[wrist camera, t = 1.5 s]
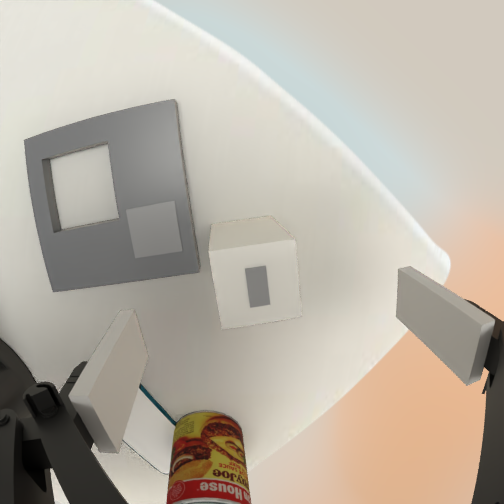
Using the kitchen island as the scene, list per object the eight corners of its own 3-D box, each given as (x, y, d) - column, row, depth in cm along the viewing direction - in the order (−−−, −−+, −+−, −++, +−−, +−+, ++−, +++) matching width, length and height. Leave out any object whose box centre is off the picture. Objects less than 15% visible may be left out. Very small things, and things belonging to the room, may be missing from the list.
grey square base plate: (59, 286, 27) (52, 293, 25) (32, 140, 23) (22, 139, 21) (200, 266, 28) (199, 273, 26) (176, 102, 24) (173, 98, 22)
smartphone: (213, 456, 35) (132, 371, 30) (214, 461, 34) (130, 376, 29) (164, 470, 35) (82, 393, 30) (163, 475, 34) (79, 398, 29)
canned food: (255, 438, 34) (269, 520, 22) (202, 460, 34) (202, 538, 22) (215, 400, 31) (217, 491, 20) (160, 426, 32) (147, 510, 20)
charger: (220, 280, 28) (221, 331, 19) (211, 223, 27) (208, 252, 18) (277, 271, 28) (302, 318, 20) (271, 215, 27) (296, 239, 18)
